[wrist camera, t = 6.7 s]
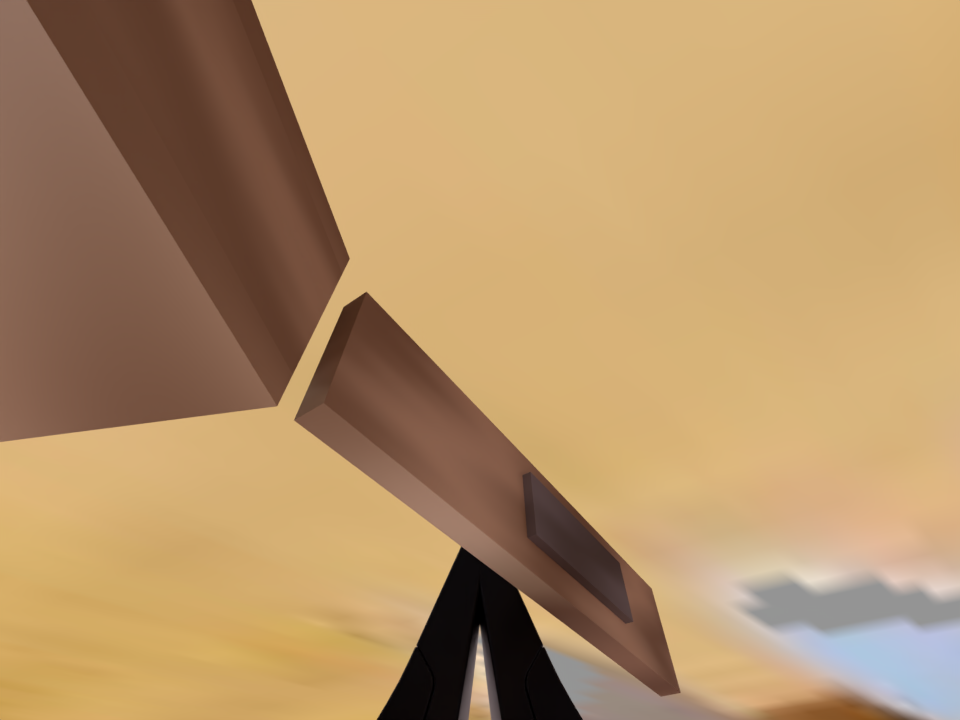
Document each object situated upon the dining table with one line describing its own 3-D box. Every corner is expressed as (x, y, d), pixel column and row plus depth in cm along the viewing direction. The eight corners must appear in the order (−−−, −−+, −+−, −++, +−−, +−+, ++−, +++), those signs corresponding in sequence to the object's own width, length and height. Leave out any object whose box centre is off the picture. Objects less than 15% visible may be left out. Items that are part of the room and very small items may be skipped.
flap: (658, 587, 16) (688, 691, 13) (635, 593, 16) (661, 696, 14) (375, 285, 9) (335, 396, 6) (343, 307, 9) (293, 420, 7)
